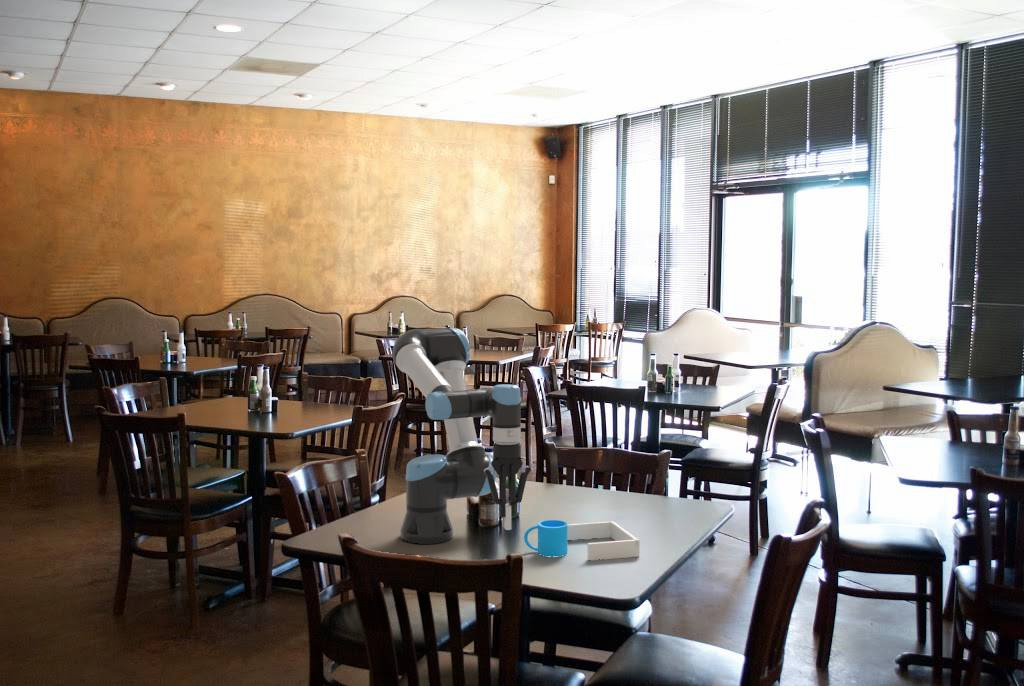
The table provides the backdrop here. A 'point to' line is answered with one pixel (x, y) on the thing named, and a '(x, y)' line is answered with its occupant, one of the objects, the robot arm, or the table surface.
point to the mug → (550, 538)
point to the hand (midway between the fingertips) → (507, 528)
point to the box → (619, 548)
